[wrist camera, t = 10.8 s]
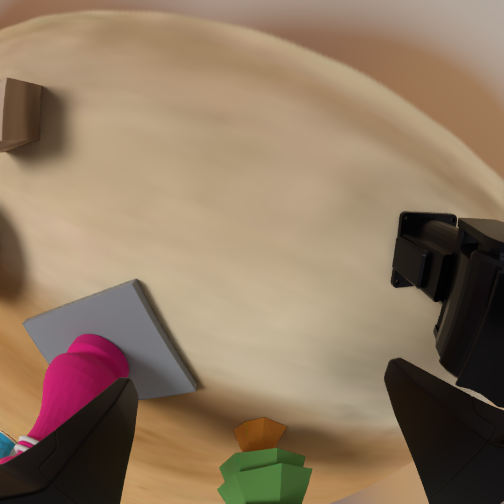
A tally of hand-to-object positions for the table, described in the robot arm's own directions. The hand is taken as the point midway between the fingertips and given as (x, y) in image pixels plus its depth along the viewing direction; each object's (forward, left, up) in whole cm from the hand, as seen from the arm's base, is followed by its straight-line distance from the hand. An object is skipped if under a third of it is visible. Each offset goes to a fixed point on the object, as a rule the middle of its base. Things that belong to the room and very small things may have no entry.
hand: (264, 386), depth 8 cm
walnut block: (+20, -13, -13) cm, 27 cm away
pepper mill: (+15, +10, -12) cm, 21 cm away
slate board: (+15, +10, -13) cm, 22 cm away
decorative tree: (-1, +22, -13) cm, 26 cm away
